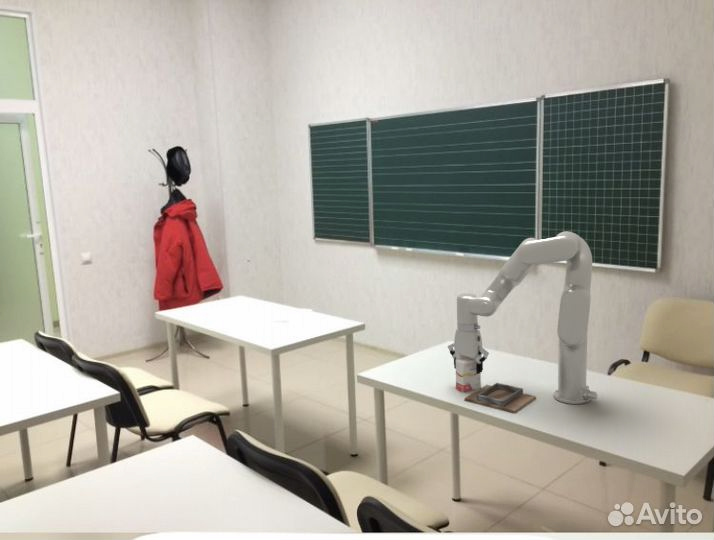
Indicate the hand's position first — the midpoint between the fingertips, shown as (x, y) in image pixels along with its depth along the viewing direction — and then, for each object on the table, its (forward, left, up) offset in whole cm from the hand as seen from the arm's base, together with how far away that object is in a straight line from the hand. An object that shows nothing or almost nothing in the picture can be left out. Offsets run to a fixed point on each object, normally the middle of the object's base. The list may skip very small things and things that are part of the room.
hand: (468, 370), depth 232 cm
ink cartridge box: (0, 0, -8) cm, 8 cm away
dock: (-15, +3, -7) cm, 17 cm away
